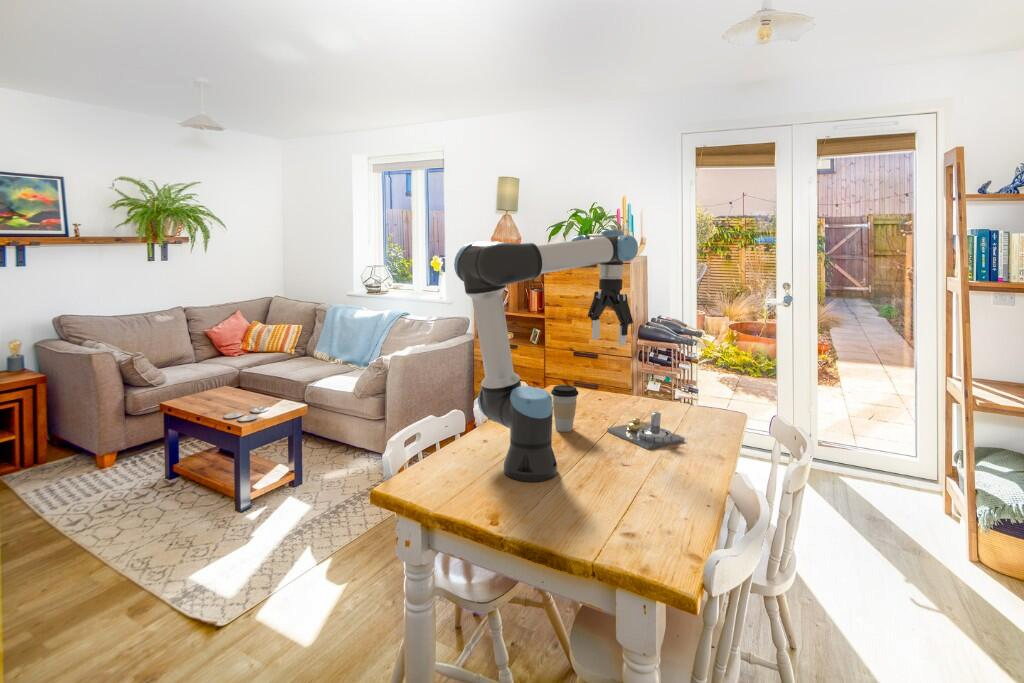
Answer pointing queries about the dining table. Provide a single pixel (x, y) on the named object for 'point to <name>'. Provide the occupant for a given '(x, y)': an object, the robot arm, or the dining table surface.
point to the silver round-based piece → (655, 426)
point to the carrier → (637, 436)
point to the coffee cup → (564, 406)
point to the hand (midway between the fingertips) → (608, 342)
